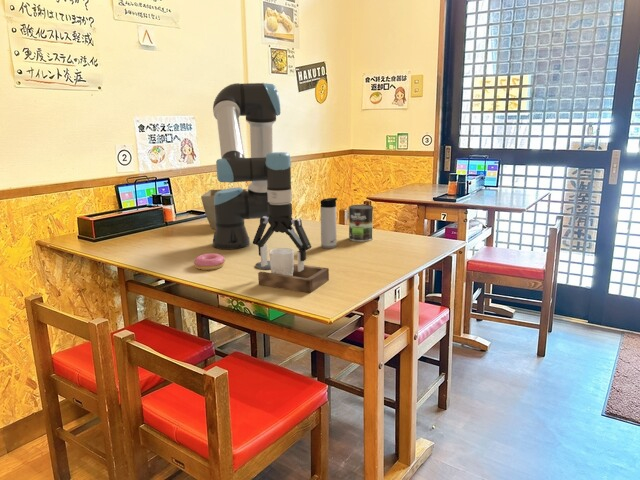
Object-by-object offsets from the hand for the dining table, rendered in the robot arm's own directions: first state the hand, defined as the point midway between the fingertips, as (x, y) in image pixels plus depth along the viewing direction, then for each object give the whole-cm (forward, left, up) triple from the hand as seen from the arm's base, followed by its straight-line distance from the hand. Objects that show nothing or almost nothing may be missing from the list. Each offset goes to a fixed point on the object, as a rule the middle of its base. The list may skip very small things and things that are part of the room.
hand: (282, 268), depth 158 cm
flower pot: (-66, +59, -5) cm, 89 cm away
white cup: (0, 0, -5) cm, 5 cm away
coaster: (-13, +12, -4) cm, 18 cm away
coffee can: (+3, +61, -5) cm, 61 cm away
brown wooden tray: (+4, 0, -4) cm, 6 cm away
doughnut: (-32, +3, -5) cm, 33 cm away
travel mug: (-4, +44, -5) cm, 45 cm away
